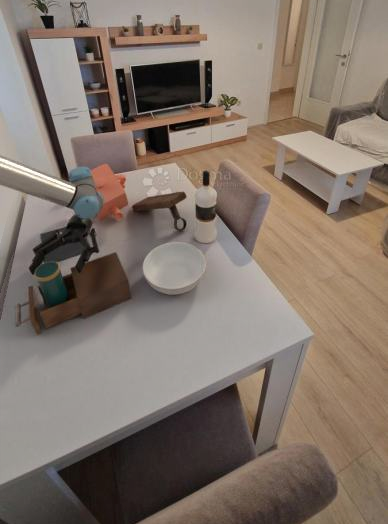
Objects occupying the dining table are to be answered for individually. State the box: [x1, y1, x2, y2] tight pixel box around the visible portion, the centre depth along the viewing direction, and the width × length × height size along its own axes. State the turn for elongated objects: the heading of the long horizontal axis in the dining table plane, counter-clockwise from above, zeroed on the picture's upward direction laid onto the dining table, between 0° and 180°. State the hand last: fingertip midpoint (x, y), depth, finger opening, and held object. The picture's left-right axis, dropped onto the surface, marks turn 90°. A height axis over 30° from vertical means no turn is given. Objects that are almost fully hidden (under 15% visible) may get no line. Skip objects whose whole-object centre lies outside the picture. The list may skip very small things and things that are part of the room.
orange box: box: [90, 162, 129, 221], centre depth 119 cm, size 25×23×18 cm
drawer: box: [14, 273, 82, 336], centre depth 81 cm, size 18×12×7 cm
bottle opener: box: [131, 191, 188, 232], centre depth 122 cm, size 10×16×30 cm
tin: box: [34, 261, 71, 308], centre depth 80 cm, size 6×6×15 cm
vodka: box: [193, 170, 218, 244], centre depth 105 cm, size 9×9×30 cm
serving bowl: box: [142, 241, 207, 295], centre depth 93 cm, size 21×21×7 cm
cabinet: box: [70, 251, 132, 320], centre depth 87 cm, size 15×14×9 cm
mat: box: [39, 225, 88, 263], centre depth 110 cm, size 20×16×1 cm
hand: (54, 270), depth 78 cm, fingers open, 13 cm apart
